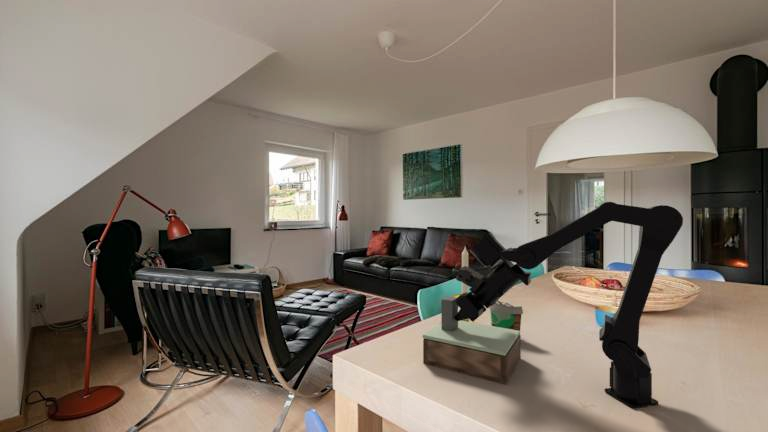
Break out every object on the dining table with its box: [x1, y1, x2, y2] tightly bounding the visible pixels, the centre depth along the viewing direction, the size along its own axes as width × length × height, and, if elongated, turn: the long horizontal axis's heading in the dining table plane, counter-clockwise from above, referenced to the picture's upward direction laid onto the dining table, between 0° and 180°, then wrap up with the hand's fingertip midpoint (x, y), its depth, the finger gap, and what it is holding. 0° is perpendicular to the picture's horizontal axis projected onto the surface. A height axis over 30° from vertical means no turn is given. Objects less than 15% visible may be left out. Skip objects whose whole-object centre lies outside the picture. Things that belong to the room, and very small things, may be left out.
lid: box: [422, 295, 521, 356], centre depth 86 cm, size 20×16×9 cm
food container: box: [487, 300, 524, 332], centre depth 104 cm, size 12×6×10 cm, turn 21°
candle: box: [451, 246, 476, 323], centre depth 112 cm, size 10×10×27 cm
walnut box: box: [422, 334, 522, 385], centre depth 86 cm, size 20×16×6 cm
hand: (456, 319), depth 88 cm, fingers closed, pressing on lid
